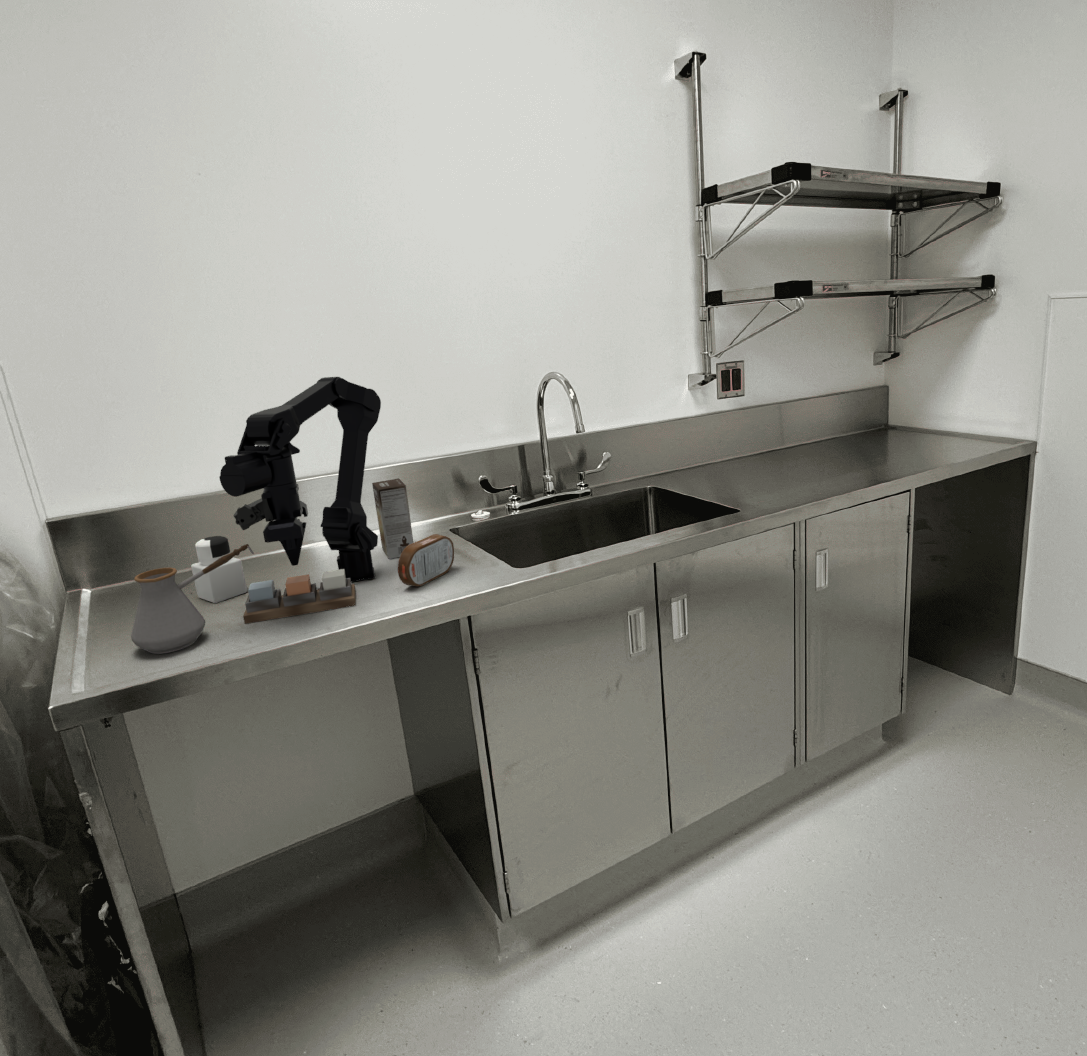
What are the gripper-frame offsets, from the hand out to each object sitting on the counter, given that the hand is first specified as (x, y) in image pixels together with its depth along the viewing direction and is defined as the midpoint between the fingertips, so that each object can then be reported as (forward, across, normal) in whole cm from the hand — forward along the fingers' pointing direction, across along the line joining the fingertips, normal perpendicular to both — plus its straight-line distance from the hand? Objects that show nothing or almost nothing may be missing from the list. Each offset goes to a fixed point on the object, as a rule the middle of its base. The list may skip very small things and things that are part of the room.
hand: (295, 564), depth 136 cm
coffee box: (+9, -27, +19) cm, 34 cm away
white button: (+6, 0, +6) cm, 9 cm away
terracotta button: (+6, 0, 0) cm, 6 cm away
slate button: (+6, 0, -7) cm, 9 cm away
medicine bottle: (+8, -15, -17) cm, 24 cm away
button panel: (+8, 0, 0) cm, 8 cm away
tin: (+9, -4, +24) cm, 26 cm away
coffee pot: (+8, +8, -16) cm, 20 cm away
